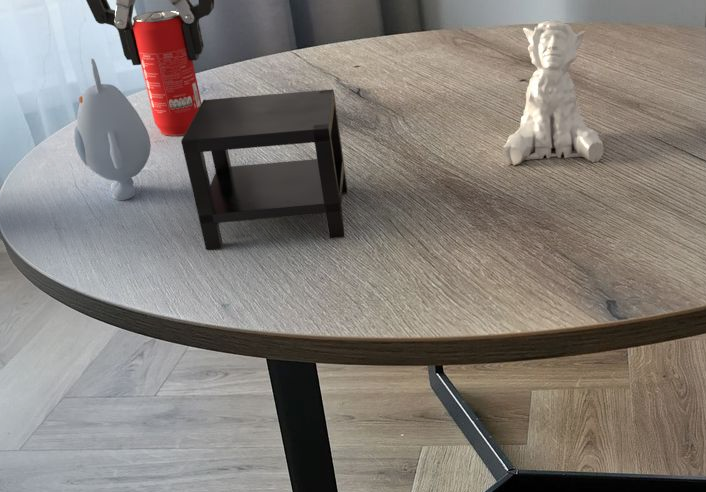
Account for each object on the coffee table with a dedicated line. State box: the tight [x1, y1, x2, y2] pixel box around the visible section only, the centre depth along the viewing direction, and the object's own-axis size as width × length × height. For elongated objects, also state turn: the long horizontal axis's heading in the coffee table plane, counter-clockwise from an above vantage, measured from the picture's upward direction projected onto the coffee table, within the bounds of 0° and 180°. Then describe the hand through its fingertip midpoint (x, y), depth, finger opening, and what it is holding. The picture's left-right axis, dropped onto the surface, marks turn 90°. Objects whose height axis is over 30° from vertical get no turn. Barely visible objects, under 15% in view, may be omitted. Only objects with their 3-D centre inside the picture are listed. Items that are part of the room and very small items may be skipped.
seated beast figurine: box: [500, 19, 605, 167], centre depth 90 cm, size 10×9×12 cm
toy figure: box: [73, 58, 152, 201], centre depth 85 cm, size 11×6×12 cm, turn 23°
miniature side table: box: [180, 89, 348, 251], centre depth 79 cm, size 11×11×9 cm
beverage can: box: [132, 10, 202, 137], centre depth 101 cm, size 5×5×12 cm
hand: (166, 60), depth 101 cm, fingers closed on beverage can, 5 cm apart
